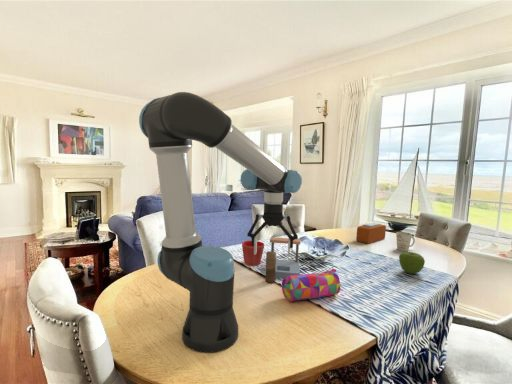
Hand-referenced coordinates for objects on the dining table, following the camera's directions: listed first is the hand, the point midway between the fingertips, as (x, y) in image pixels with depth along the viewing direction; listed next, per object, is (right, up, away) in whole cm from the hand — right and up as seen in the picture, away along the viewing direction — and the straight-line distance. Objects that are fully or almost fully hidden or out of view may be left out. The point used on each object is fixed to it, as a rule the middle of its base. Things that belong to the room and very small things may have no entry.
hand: (271, 254), depth 114 cm
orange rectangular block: (+71, -8, +76) cm, 105 cm away
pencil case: (+14, -13, -11) cm, 22 cm away
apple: (+66, -12, +17) cm, 69 cm away
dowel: (-1, -11, +1) cm, 11 cm away
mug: (+84, -10, +56) cm, 102 cm away
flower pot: (-8, -9, +22) cm, 25 cm away
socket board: (+6, -10, +13) cm, 18 cm away
